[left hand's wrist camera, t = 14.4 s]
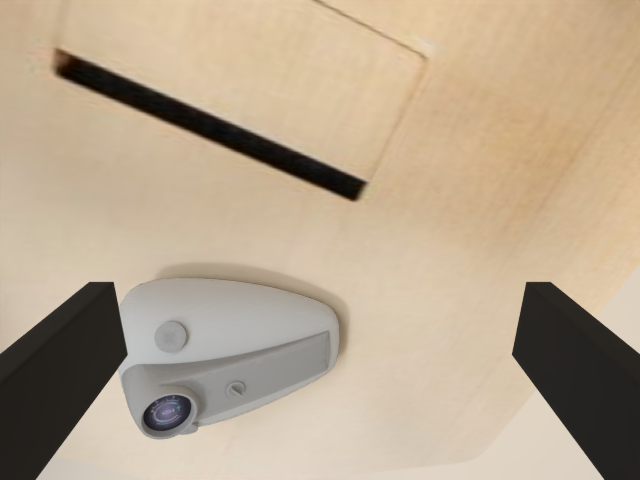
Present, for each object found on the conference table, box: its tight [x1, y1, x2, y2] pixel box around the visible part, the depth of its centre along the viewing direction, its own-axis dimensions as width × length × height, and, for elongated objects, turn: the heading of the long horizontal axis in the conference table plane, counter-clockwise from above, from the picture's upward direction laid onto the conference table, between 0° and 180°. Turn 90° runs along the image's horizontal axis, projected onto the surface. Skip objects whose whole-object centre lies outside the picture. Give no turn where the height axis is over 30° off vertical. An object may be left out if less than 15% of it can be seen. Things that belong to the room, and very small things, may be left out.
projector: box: [118, 278, 339, 439], centre depth 40 cm, size 22×23×15 cm
